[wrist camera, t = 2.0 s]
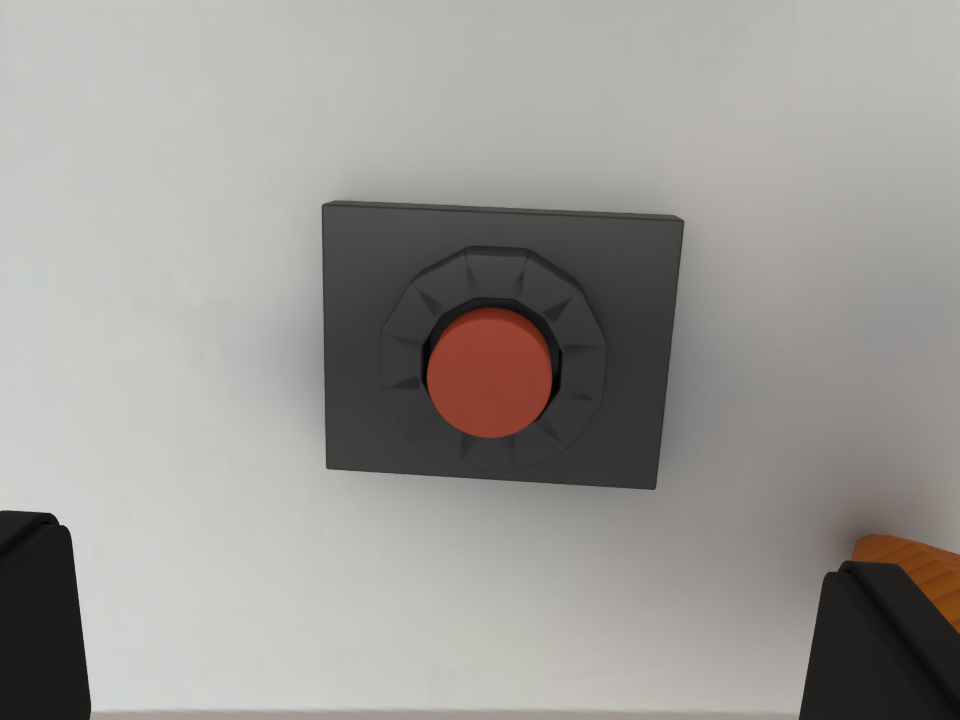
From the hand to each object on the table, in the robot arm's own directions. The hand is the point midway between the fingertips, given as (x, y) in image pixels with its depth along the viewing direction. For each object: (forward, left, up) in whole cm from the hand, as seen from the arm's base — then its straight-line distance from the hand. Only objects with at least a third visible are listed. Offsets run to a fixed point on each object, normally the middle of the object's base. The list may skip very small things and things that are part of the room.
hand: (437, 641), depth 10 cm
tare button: (0, 0, -12) cm, 12 cm away
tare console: (0, 0, -15) cm, 15 cm away
